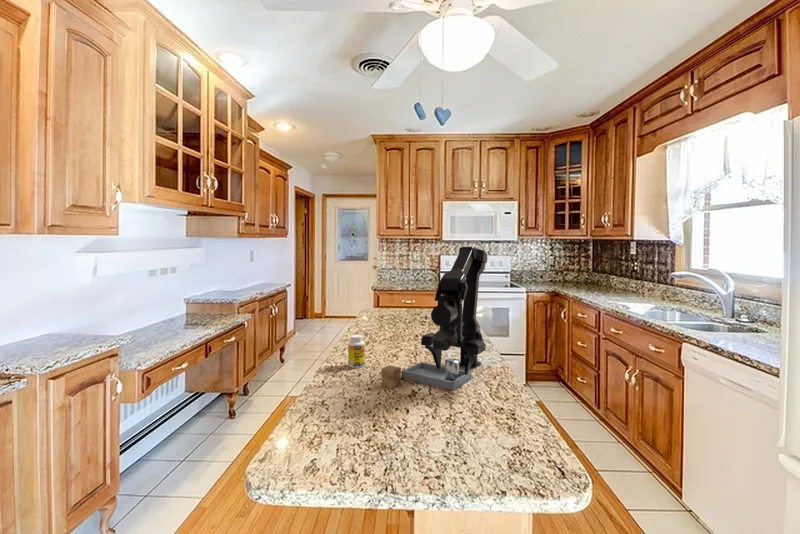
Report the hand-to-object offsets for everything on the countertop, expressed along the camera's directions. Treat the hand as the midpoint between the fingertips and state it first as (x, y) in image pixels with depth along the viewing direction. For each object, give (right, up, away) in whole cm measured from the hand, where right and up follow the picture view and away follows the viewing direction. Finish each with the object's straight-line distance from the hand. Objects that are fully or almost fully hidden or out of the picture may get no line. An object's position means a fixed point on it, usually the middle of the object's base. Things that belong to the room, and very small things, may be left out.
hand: (452, 371), depth 118 cm
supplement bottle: (-30, -3, +16) cm, 34 cm away
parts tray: (-4, -3, +3) cm, 6 cm away
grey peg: (0, -3, 0) cm, 3 cm away
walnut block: (-18, -4, -1) cm, 18 cm away
